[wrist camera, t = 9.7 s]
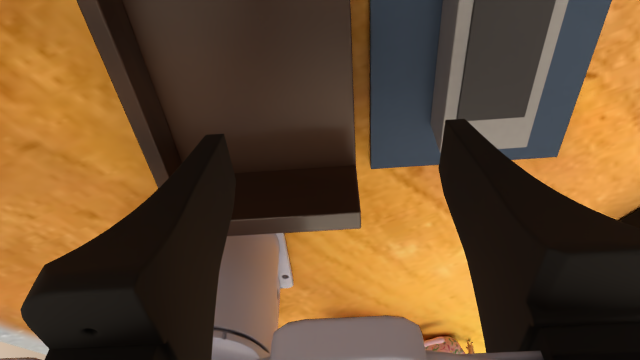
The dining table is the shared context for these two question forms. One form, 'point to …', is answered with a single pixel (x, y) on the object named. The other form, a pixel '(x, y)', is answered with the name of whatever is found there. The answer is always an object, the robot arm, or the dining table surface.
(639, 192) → the dining table surface
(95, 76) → the dining table surface
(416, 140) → the desk mat
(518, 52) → the remote
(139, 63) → the dark wooden tray
